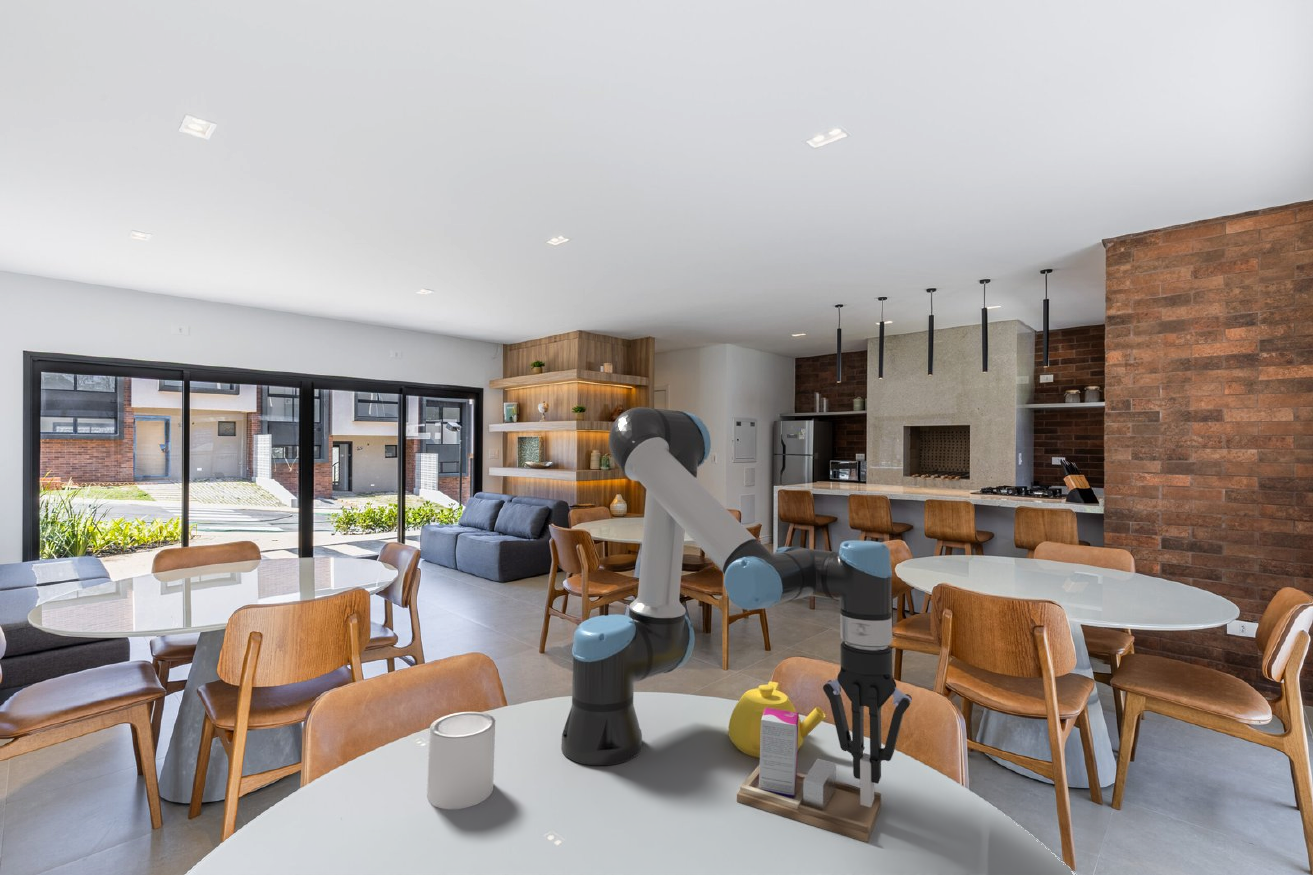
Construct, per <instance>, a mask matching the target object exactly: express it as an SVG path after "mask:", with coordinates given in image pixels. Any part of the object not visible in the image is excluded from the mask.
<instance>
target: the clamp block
mask: <svg viewBox="0 0 1313 875" xmlns="http://www.w3.org/2000/svg"><path fill="white" fill-rule="evenodd" d="M805 775H806V777H805V778H804V782H803V784H802V793H803V806H807V807H810V808H813V809H817V810H820V811H823V812H824V810H825V808H826V806H827V804H828V802H829V800H830V799H831V797H832V795H833V793H834V791H835V789H836V781H837V763H836V762H834V761H830V760H825V759H821V758H817V759H816V760H815V762H814V763H813V765H812V766H811V768H810V769H809V771H808V772H807V774H805Z"/></svg>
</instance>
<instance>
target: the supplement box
mask: <svg viewBox="0 0 1313 875" xmlns="http://www.w3.org/2000/svg"><path fill="white" fill-rule="evenodd" d="M798 716H799V712H791V711H784V710H777V709H771V708H765V710H764V713H763V716H762V719H761V741H760V758H759V764H760V771H759V789H760V790H764V791H767V792H771V793H774V794H777V795H781V796H784V797H787V798H794V795H795V786H796V782H797V772H798V751H799V749H798ZM799 717H800V716H799Z"/></svg>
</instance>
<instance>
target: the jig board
mask: <svg viewBox="0 0 1313 875" xmlns="http://www.w3.org/2000/svg"><path fill="white" fill-rule="evenodd" d="M759 771H760V763H759V764H758V765H757V767H756V768H755V769H754V770H753V771H752V773H751V774H750V775H749V776H748V777H747V779H746V780H745V781H744V782H743V783H742V784H741V785H740V786H739V790H738V792H737V793H736V802H737V803H740V804H742V805H747V806H749V807H753V808H756V809H759V810H762V811H766V812H770V813H772V814H775V815H778V816H782V817H785V818H788V819H791V820H795V821H797V822H801V823H803V824H808V825H809V826H810V825H811V826H813V827H816V828H820V829H823V830H827V831H830V832H833V833H836V834H839V835H842V836H845V837H849V838H852V839H854V840H855V839H856V840H858V841H861V842H865V843H868V842H869V840H870V837H871V834H872V831H873V829H874V827H875V824H876V820H877V819H878V815H879V813H880V811H881V810H880V809H881V807H882V792H877V791H874V801H873V803H872V806H871V807H867V806H864V805H860V787H859V786H855V785H852V784H848V783H844V782H841V781H837V780H836V789H835V791H834V793H833V795H832V797H831V799H830V800H829V802H828V804H827V806H826V808H825V810H824V812H823V811H820V810H817V809H813V808H810V807H807V806H803V793H802V784H803V782H804V778H805V777H806V775H807V774H804V773H801V772H798V771H797V782H796V786H795V795H794V798H787V797H784V796H781V795H777V794H774V793H771V792H767V791H764V790H760V789H759Z"/></svg>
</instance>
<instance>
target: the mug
mask: <svg viewBox="0 0 1313 875" xmlns="http://www.w3.org/2000/svg"><path fill="white" fill-rule="evenodd" d="M495 737H496V719H495V718H494V716H492V715H490V714H488V713H485V712H481V711H462V712H461V711H460V712H455V713H451V714H446V715H443V716H441V717H439V718H437V719H435V720H434V721H433V722H432V723H431V724H430V726H429V730H428V755H427V757H428V759H427V760H428V761H427V762H428V763H427V764H428V765H427V784H426V785H427V788H426V790H427V791H426V798H427V801H428V803H429V804H430V805H431V806H433V807H436V808H438V809H442V810H461V809H465V808H471V807H473V806H475V805H478V804H480V803H483V802H484V801H485V800H487V799H488V798H490V795H491V794H492V793H493V791H494V775H495V774H494V772H495V748H496V746H495V741H496V740H495V739H496V738H495Z"/></svg>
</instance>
